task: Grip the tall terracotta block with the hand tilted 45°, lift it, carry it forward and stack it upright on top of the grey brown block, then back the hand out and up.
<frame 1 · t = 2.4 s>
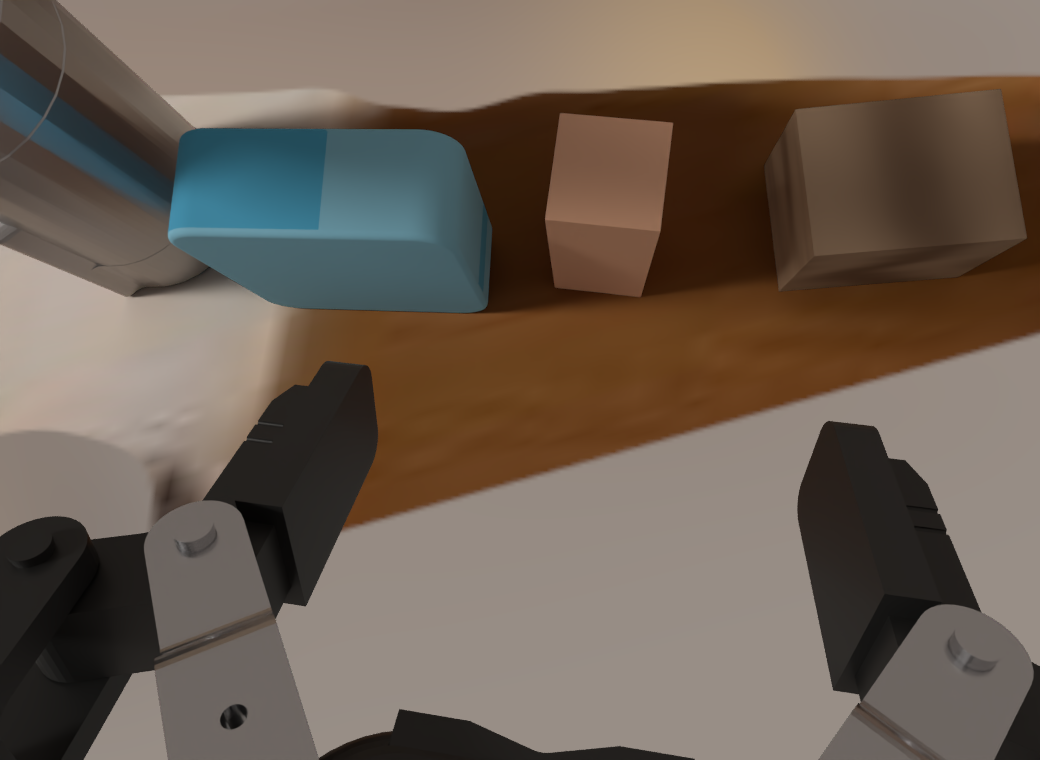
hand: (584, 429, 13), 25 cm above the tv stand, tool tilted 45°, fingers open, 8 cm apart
terracotta block: (602, 251, 39), on the tv stand
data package: (386, 272, 40), on the tv stand
grey brown block: (857, 221, 38), on the tv stand
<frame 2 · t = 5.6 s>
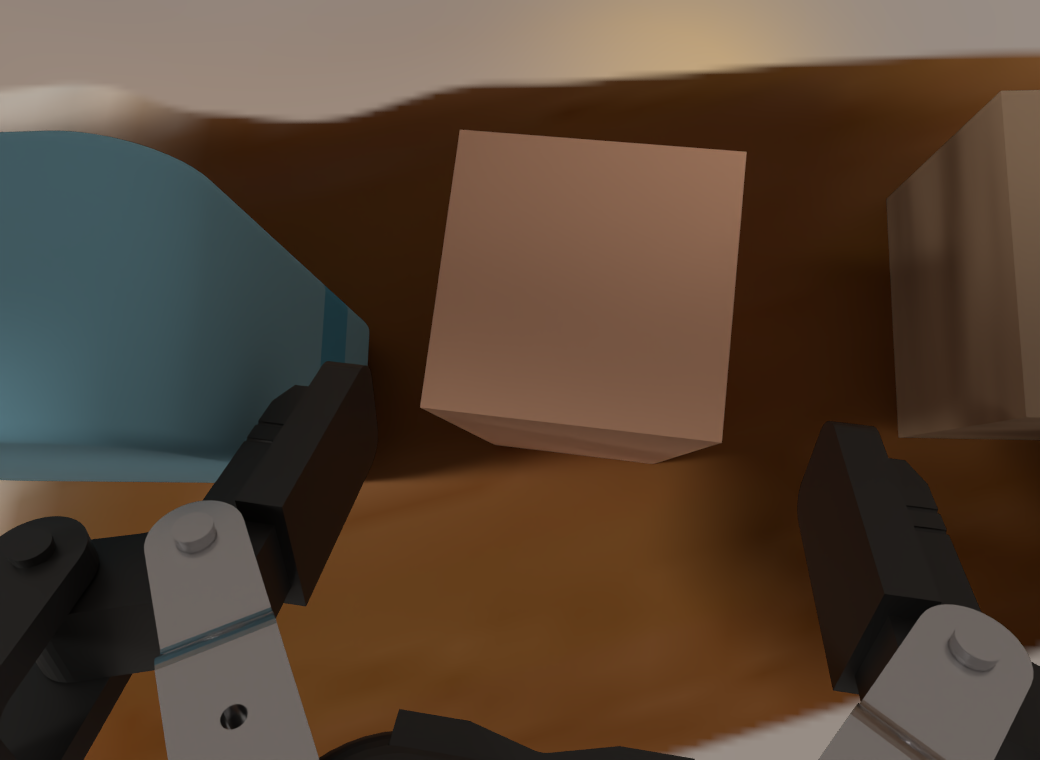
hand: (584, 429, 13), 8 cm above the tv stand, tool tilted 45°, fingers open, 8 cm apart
terracotta block: (582, 375, 21), on the tv stand
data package: (189, 408, 22), on the tv stand, touching gripper
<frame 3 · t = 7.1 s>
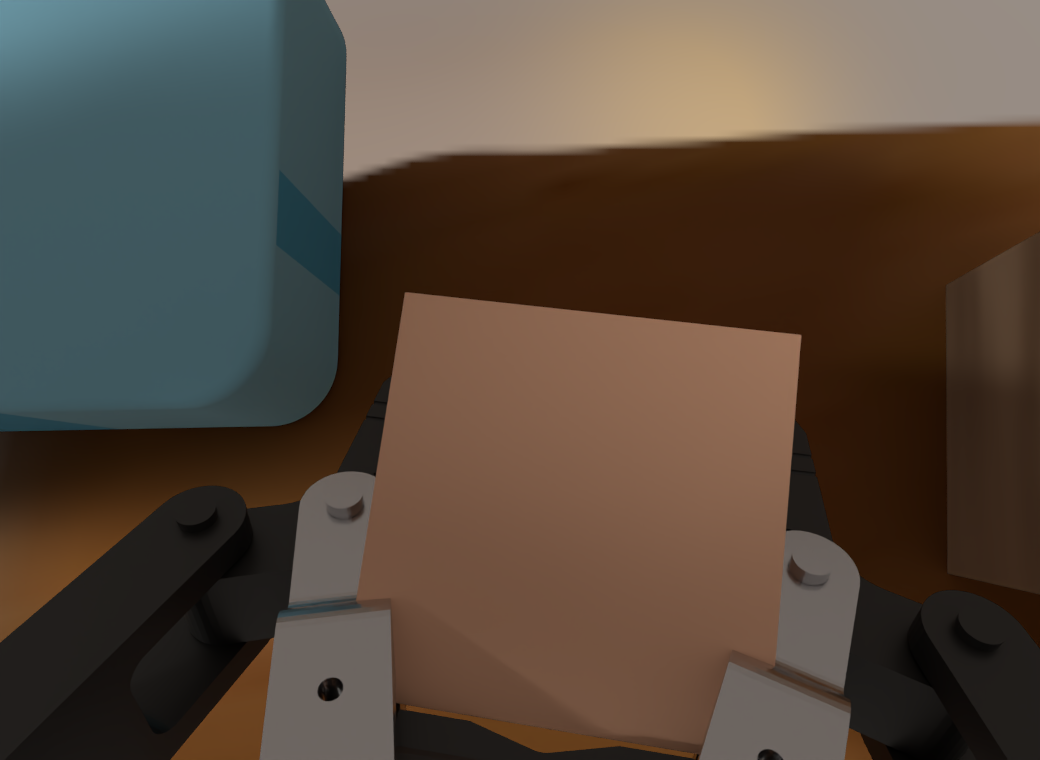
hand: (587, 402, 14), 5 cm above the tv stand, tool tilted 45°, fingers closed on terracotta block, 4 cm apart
terracotta block: (578, 500, 18), on the tv stand, touching gripper
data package: (57, 430, 17), point 2 cm above the tv stand
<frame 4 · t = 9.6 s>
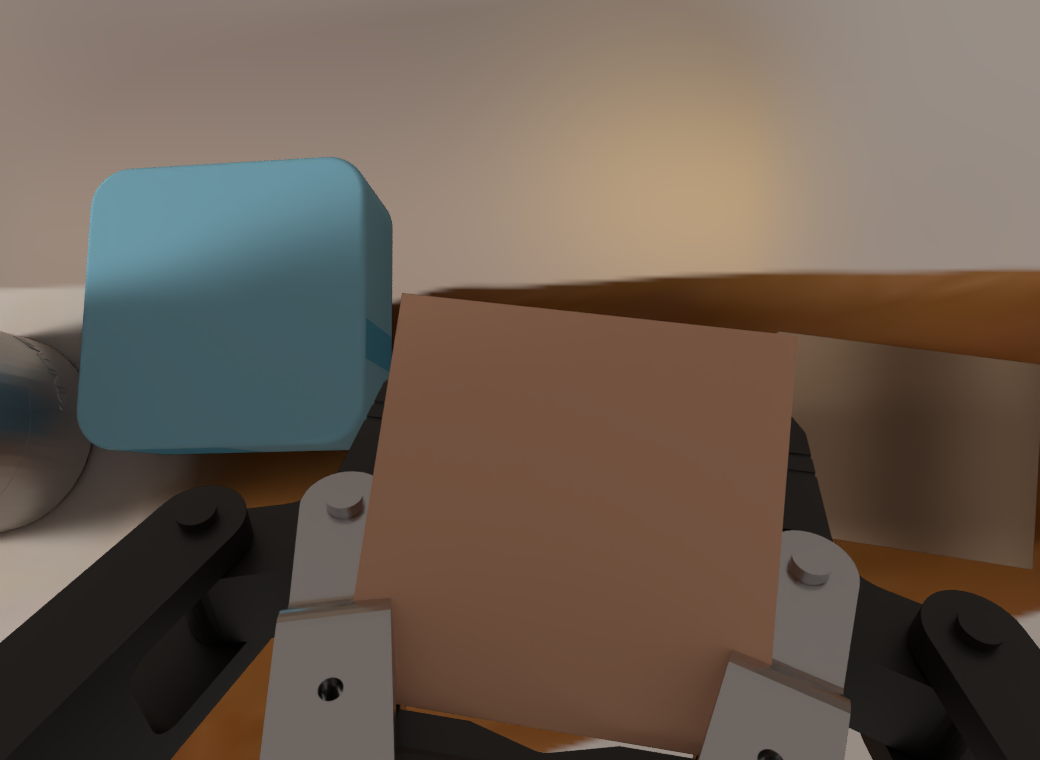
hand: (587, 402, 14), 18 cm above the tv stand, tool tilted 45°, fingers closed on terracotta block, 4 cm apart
terracotta block: (577, 500, 18), point 14 cm above the tv stand, touching gripper
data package: (240, 454, 31), point 2 cm above the tv stand
grey brown block: (840, 453, 31), on the tv stand
when the fingers open (12 cm above the tv stand, at t = 12.2 s): terracotta block drops 2 cm, resting on grey brown block.
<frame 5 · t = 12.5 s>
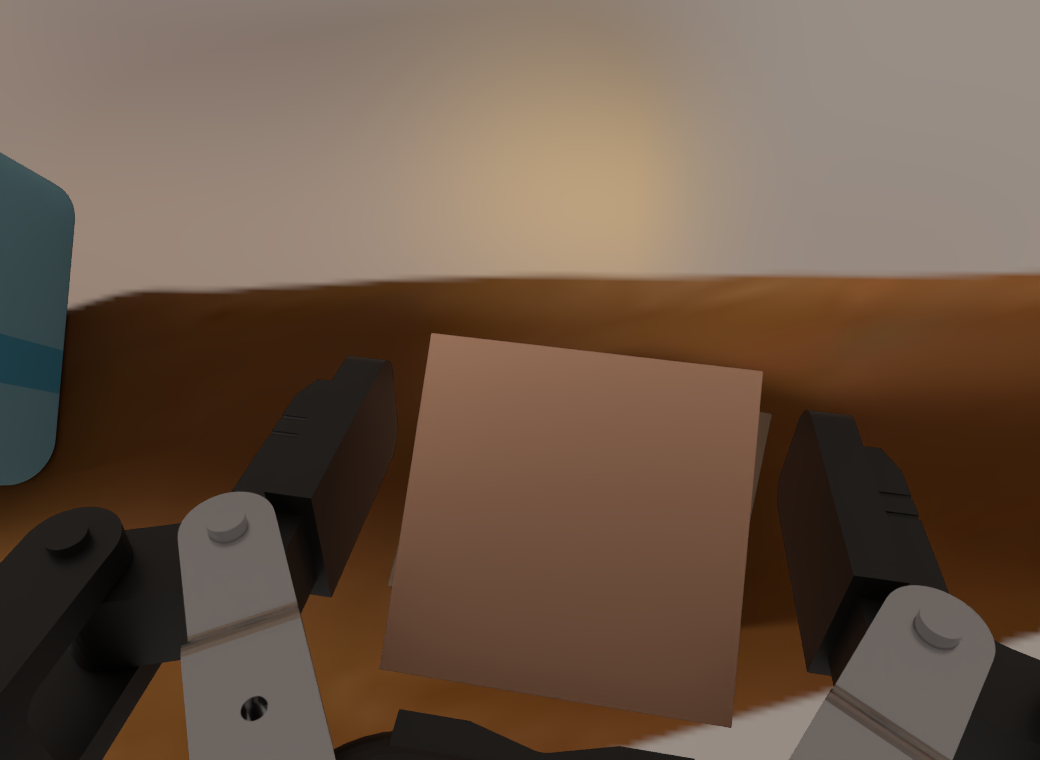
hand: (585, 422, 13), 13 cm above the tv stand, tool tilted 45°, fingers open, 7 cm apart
terracotta block: (578, 504, 20), point 6 cm above the tv stand, touching grey brown block
grey brown block: (579, 498, 25), on the tv stand, touching terracotta block
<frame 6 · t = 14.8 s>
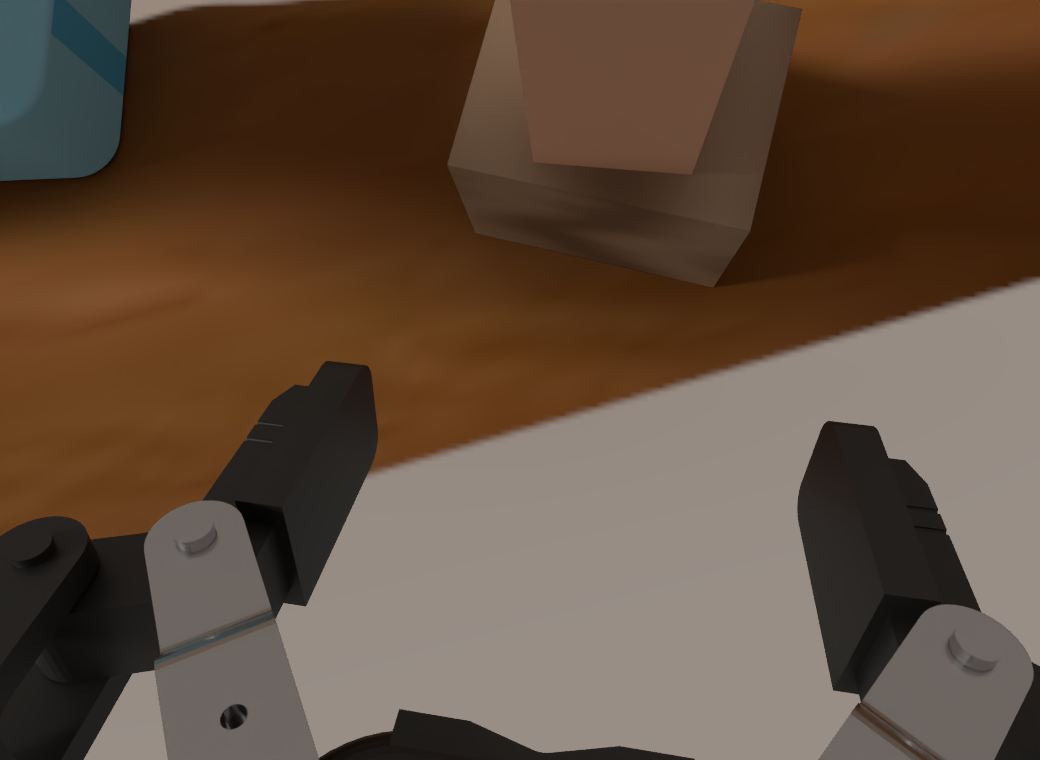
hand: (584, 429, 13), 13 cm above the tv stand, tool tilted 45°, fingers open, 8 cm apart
terracotta block: (619, 94, 21), point 6 cm above the tv stand, touching grey brown block
grey brown block: (614, 174, 27), on the tv stand, touching terracotta block
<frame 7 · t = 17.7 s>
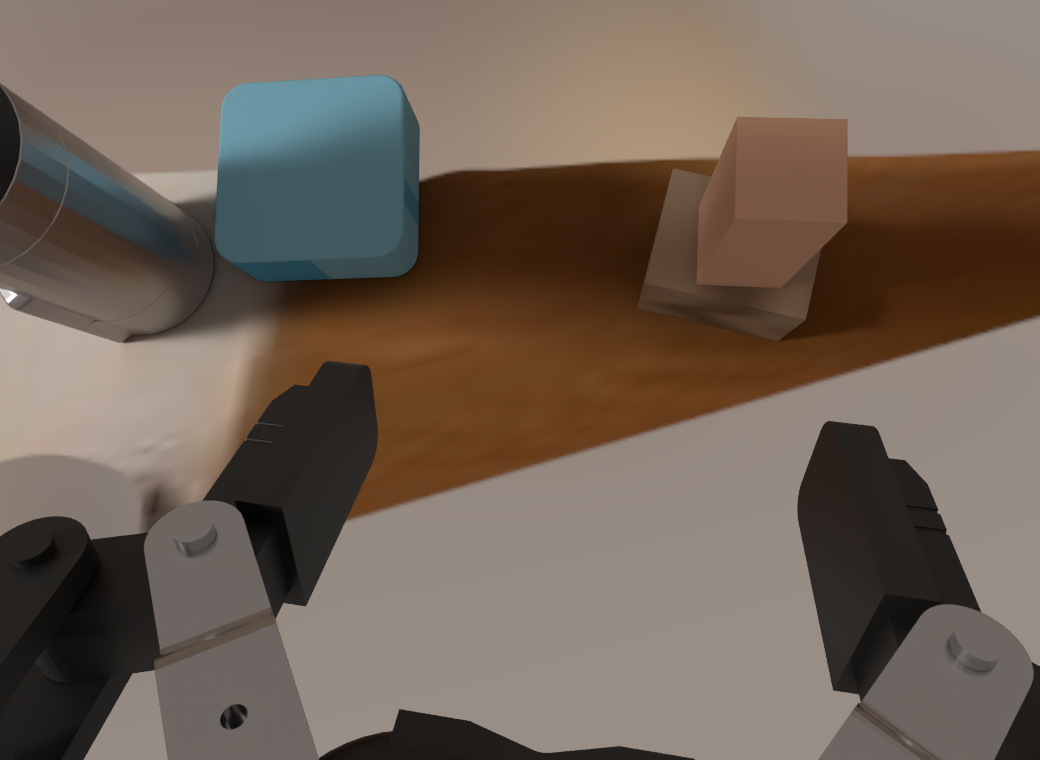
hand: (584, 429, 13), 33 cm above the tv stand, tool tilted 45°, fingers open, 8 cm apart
terracotta block: (739, 246, 41), point 6 cm above the tv stand, touching grey brown block
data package: (318, 273, 46), point 2 cm above the tv stand
grey brown block: (718, 273, 46), on the tv stand, touching terracotta block
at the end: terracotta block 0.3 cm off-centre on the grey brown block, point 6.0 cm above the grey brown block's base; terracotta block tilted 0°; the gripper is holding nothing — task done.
